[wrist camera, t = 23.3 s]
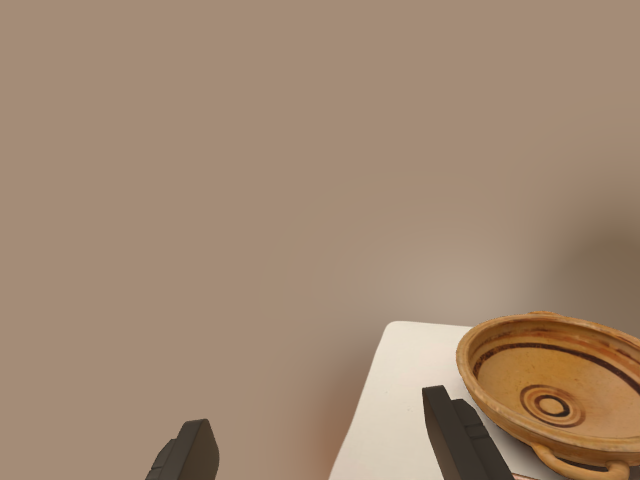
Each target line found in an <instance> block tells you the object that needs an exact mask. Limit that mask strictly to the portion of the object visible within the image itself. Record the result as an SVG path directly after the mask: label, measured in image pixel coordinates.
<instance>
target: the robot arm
mask: <svg viewBox="0 0 640 480" xmlns="http://www.w3.org/2000/svg"><path fill="white" fill-rule="evenodd" d="M422 396H423V405H424V414H425V423H426V428H427V432H428V436H429V439H430V442H431V445H432V448H433V450H434V453H435V456H436V458H437V461H438V464H439V467H440V469H441V472H442V475H443V478H444V480H515V478H514V477H513V475H512V473H511V471H510V470H509V468H508V466H507V464H506V463H505V461H504V459H503V457H502V456H501V454H500V452H499V450H498V449H497V447H496V445H495V444H494V442H493V440H492V438H491V437H490V436H489V433H488V431H487V430H486V428H485V426H483V423H482V421H481V419H480V417H479V416H478V414H477V412H476V410H475V409H474V408H473V407H471V406H470V405H469V404H468V403H467V402H466V401H464V400H463V399H457V400H451V399H450V397H449V395H448V393H447V391H446V389H445V387H444V386H443V385H440V386H433V387H426V388H422ZM218 466H219V450H218V447H217V444H216V441H215V438H214V435H213V432H212V429H211V426H210V423H209V421H208V420H207V419H200V420H193V421H187V422H185V423H184V424H183V426H182V428H181V430H180V432H179V435H178V436H177V438H176V439H171V440H170V441H169V442H168V443H167V444H166V446H165V447H164V448H163V449H162V450H161V451H160V452H159V454H158V456H157V458H156V460H155V462H154V463H153V466H152V468H151V471H149V474H148V475H147V477H146V479H145V480H215V477H216V474H217V470H218Z"/></svg>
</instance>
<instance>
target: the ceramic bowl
mask: <svg viewBox="0 0 640 480" xmlns="http://www.w3.org/2000/svg"><path fill="white" fill-rule="evenodd" d="M456 363H457V366H458V370H459V373H460V375H461V376H462V378H463V381H464V383H465V386H466V388H467V389H468V391H469V393H470V395H471V396H472V398H473V400H474V401H475V403H476V404H477V405H478V406H479V407H480V409H481V410H482V411H483V412H484V413H485V414H486V415H487V416H488V417H489V418H490V419H491V420H492V421H493V422H494V423H496V424H497V425H498V426H499V427H500V428H502V429H503V430H504V431H506V432H507V433H509V434H510V435H512V436H513V437H515V438H516V439H518V440H520V441H522V442H524V443H526V444H527V445H529V446H531V447H532V448H533V450H534V451H535V453H536V454H537V455H538V457H539V458H540V459H541V460H542V461H543V462H544V463H545V464H546V465H547V466H548V467H549V468H550V469H552V470H553V471H555V472H556V473H558V474H560V475H562V476H564V477H567V478H569V479H573V480H628V478H629V474H630V470H629V466H638V465H640V340H639V339H637V338H635V337H633V336H630V335H628V334H626V333H623V332H620V331H618V330H616V329H613V328H610V327H607V326H603V325H600V324H598V323H593V322H589V321H585V320H581V319H576V318H570V317H565V316H561V315H559V314H556V313H552V312H546V311H536V312H530V313H528V314H520V315H510V316H503V317H499V318H496V319H491V320H488V321H486V322H483V323H481V324H479V325H477V326H476V327H474V328H472V329H471V330H470V331H468V332H467V333H466V334H465V335H464V336H463V338H462V339H461V341H460V342H459V344H458V347H457V350H456ZM556 457H558V458H562V459H565V460H569V461H572V462H576V463H582V464H588V465H594V466H600V467H606V468H607V469H608V471H609V472H598V471H592V470H588V469H584V468H580V467H576V466H573V465H570V464H567V463H565V462H563V461H561V460H559V459H557V458H556Z"/></svg>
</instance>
